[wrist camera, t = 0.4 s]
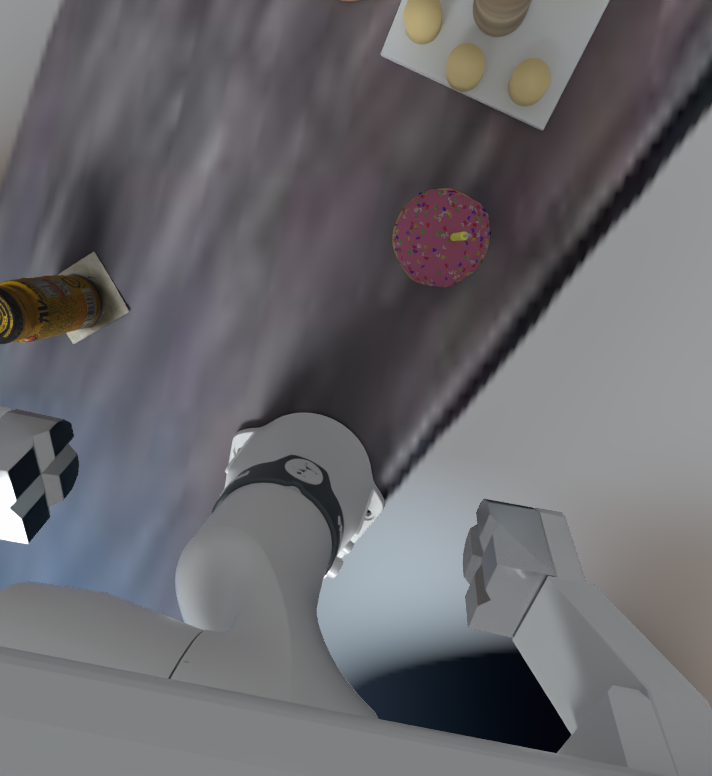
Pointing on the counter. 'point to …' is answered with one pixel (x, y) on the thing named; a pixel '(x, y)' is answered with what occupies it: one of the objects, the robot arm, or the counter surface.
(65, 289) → the condiment
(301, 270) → the counter surface
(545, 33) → the mat
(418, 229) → the cupcake
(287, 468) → the robot arm
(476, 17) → the pepper mill
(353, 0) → the coaster
